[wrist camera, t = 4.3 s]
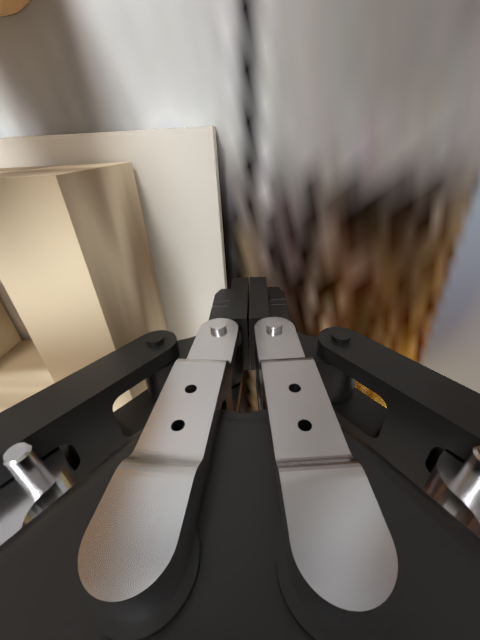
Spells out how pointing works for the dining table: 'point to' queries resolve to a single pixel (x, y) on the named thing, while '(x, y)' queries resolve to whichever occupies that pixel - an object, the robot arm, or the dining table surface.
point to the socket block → (72, 273)
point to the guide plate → (153, 208)
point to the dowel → (12, 6)
